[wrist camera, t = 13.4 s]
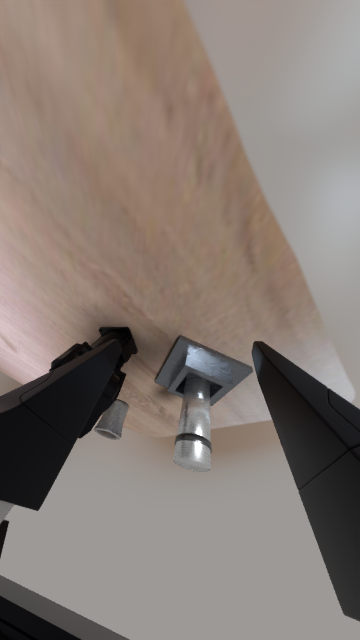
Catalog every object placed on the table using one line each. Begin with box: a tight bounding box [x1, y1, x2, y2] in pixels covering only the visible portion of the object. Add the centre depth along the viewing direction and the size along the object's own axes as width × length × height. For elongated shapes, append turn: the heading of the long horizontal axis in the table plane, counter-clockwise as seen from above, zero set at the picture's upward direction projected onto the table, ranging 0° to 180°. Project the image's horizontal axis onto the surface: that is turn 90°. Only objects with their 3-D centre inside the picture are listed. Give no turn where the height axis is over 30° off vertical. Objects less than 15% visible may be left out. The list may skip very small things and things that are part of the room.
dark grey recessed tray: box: [155, 335, 253, 406], centre depth 28 cm, size 15×15×4 cm
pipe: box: [94, 400, 128, 440], centre depth 39 cm, size 6×13×8 cm, turn 79°
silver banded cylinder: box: [174, 372, 212, 472], centre depth 23 cm, size 5×5×13 cm
